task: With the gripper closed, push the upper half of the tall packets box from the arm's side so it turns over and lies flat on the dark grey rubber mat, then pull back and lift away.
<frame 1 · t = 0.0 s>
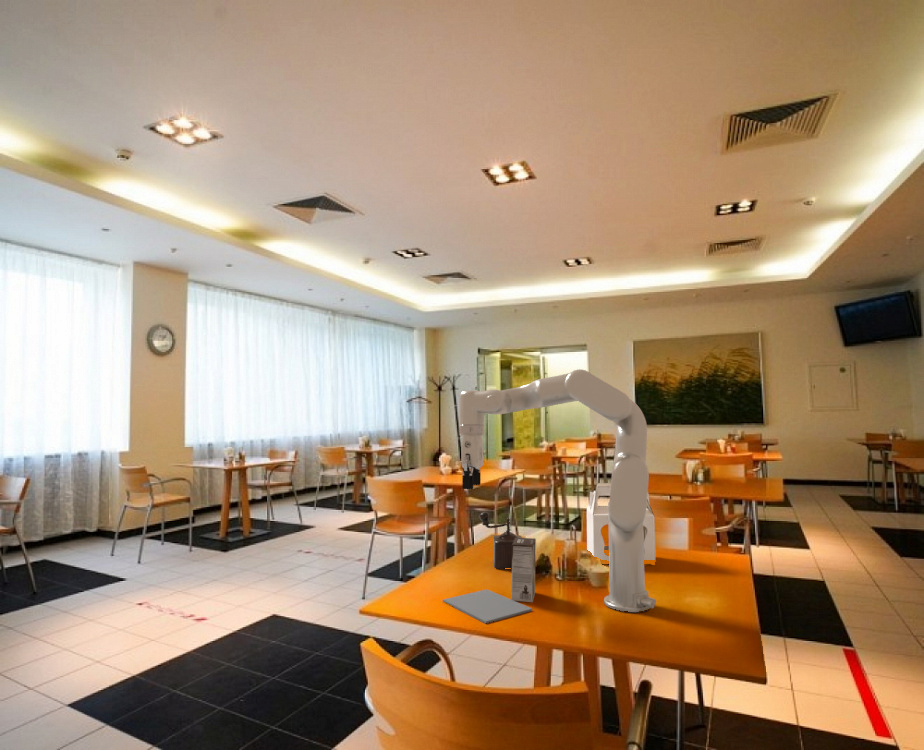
hand: (471, 487, 167), 31 cm above the table, tool pointing down, fingers open, 9 cm apart
mat: (486, 606, 152), on the table
coffee box: (523, 597, 160), on the table
gable box: (620, 560, 201), on the table
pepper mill: (501, 565, 194), on the table
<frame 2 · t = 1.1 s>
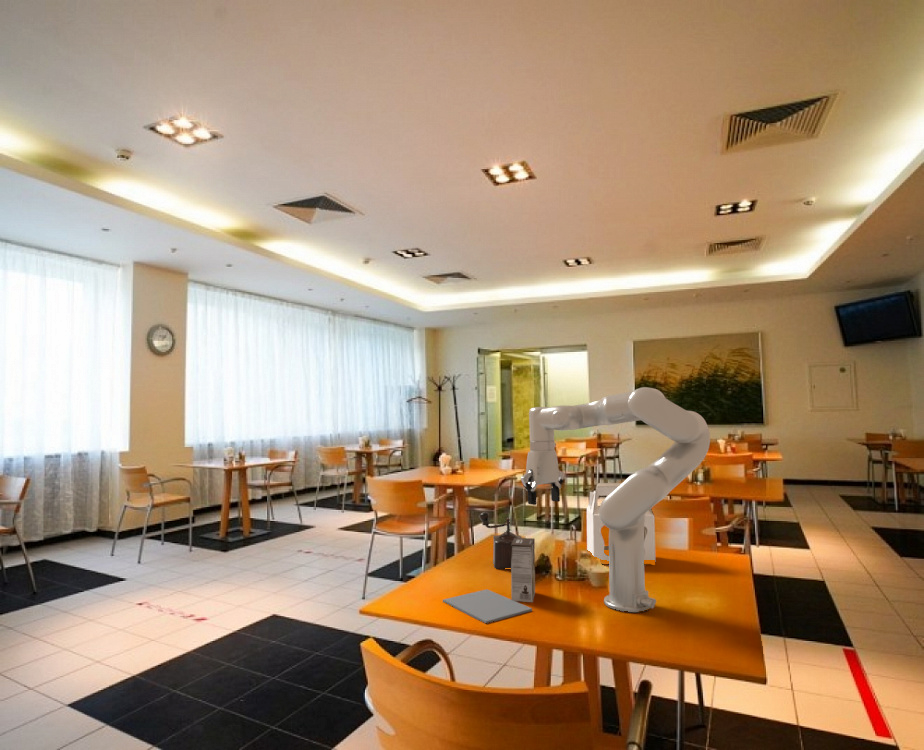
hand: (544, 502, 168), 26 cm above the table, tool pointing down, fingers open, 9 cm apart
nothing on the table moved.
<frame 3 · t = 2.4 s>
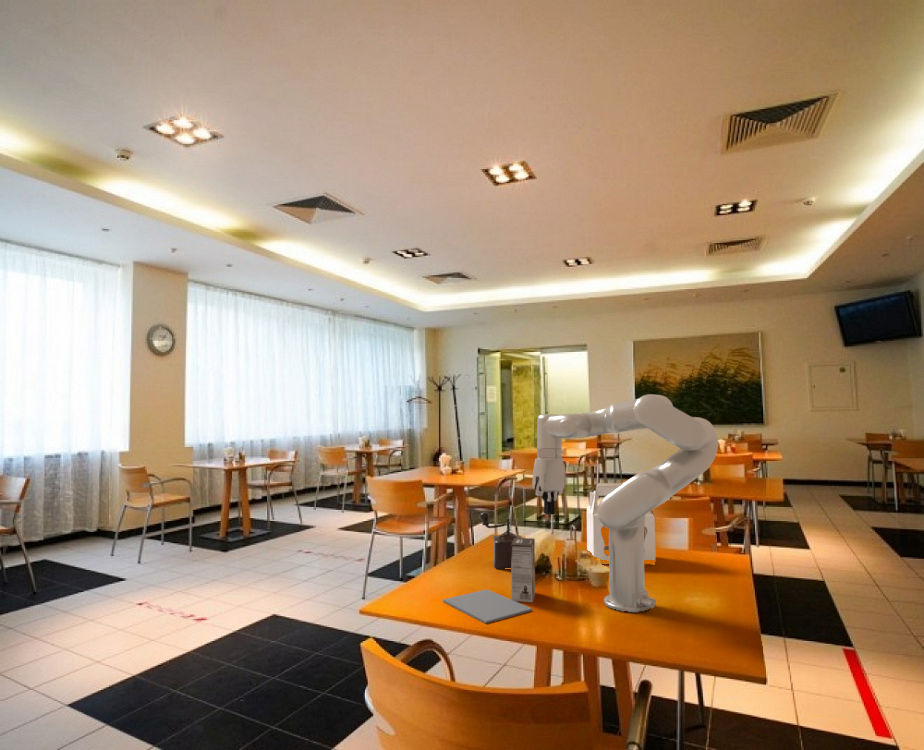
hand: (549, 513, 169), 23 cm above the table, tool pointing down, fingers closed
nothing on the table moved.
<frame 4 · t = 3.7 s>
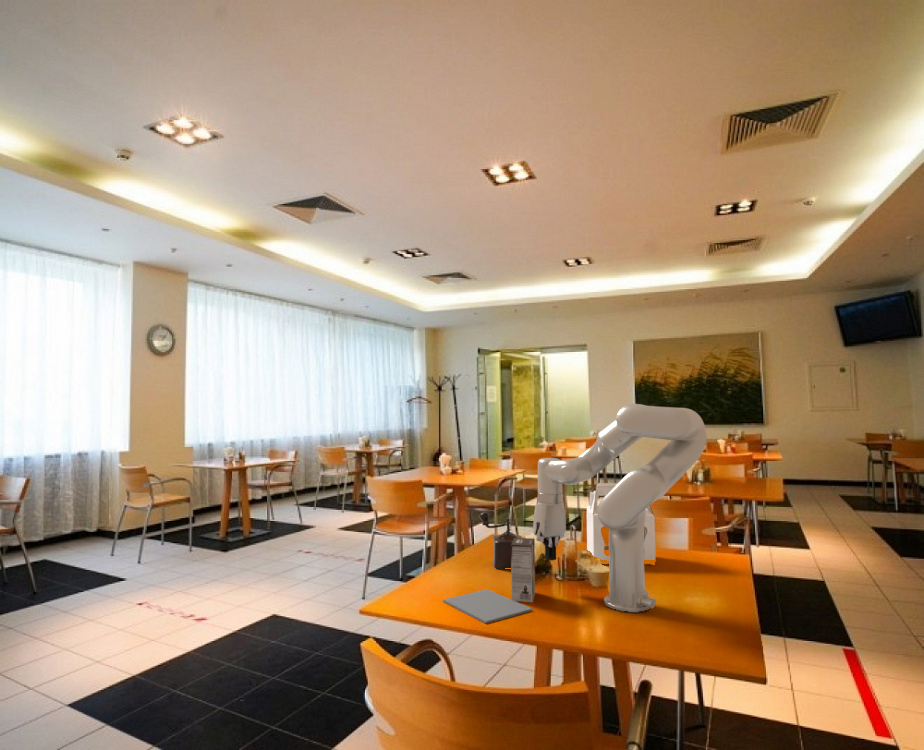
hand: (550, 559, 167), 9 cm above the table, tool pointing down, fingers closed
nothing on the table moved.
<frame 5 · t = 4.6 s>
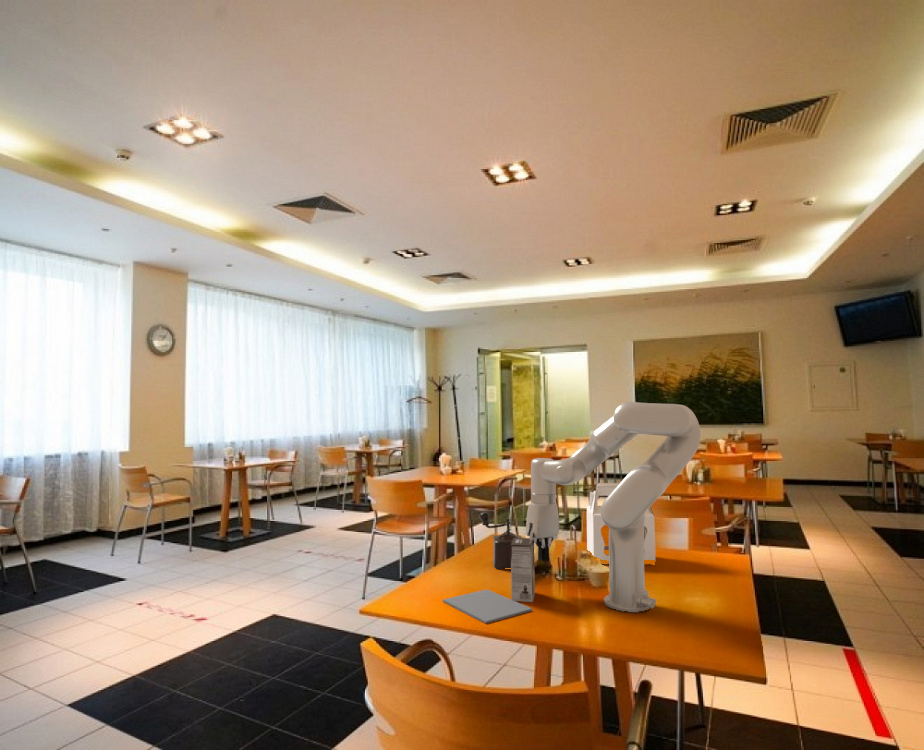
hand: (543, 560, 166), 9 cm above the table, tool pointing down, fingers closed
coffee box: (523, 597, 160), on the table, touching gripper
everything else where it was.
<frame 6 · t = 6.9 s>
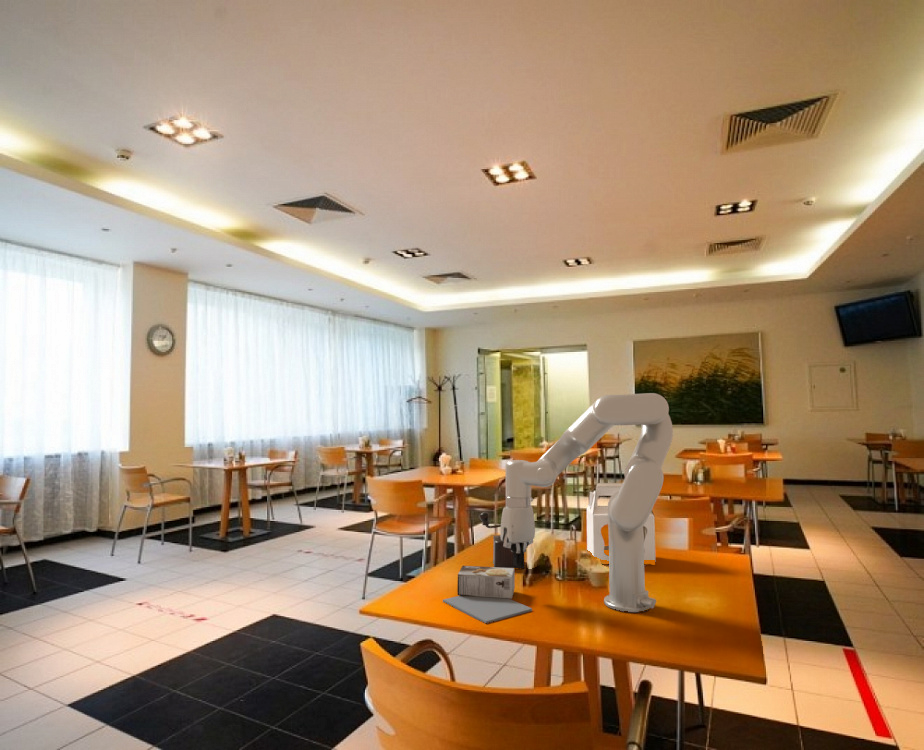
hand: (518, 565, 160), 9 cm above the table, tool pointing down, fingers closed
coffee box: (514, 583, 161), point 4 cm above the table, touching mat
everything else where it was.
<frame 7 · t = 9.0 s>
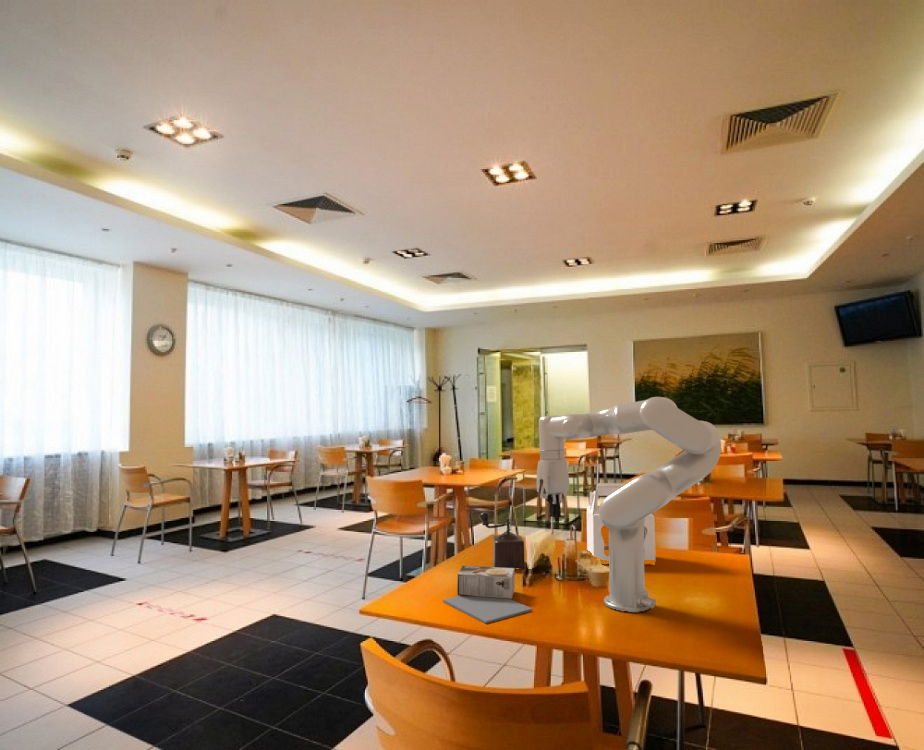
hand: (555, 516, 166), 22 cm above the table, tool pointing down, fingers closed
nothing on the table moved.
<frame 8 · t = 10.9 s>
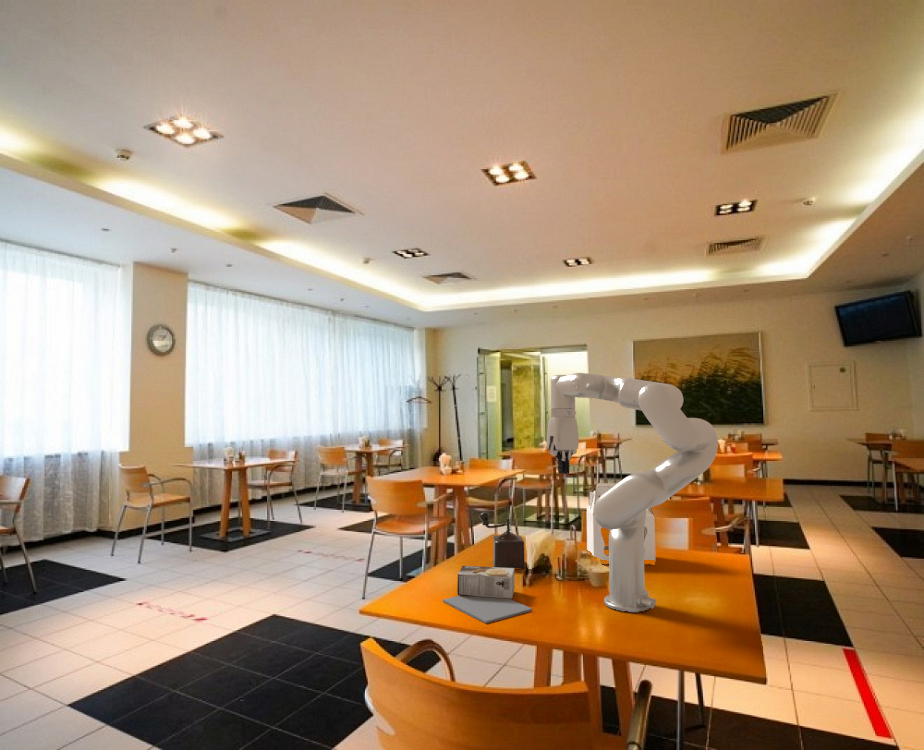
hand: (563, 473, 170), 35 cm above the table, tool pointing down, fingers closed
nothing on the table moved.
at the end: coffee box tilted 90°; coffee box inside the target area (7.1 cm from its centre), point 3.8 cm above the table; coffee box touching mat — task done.
